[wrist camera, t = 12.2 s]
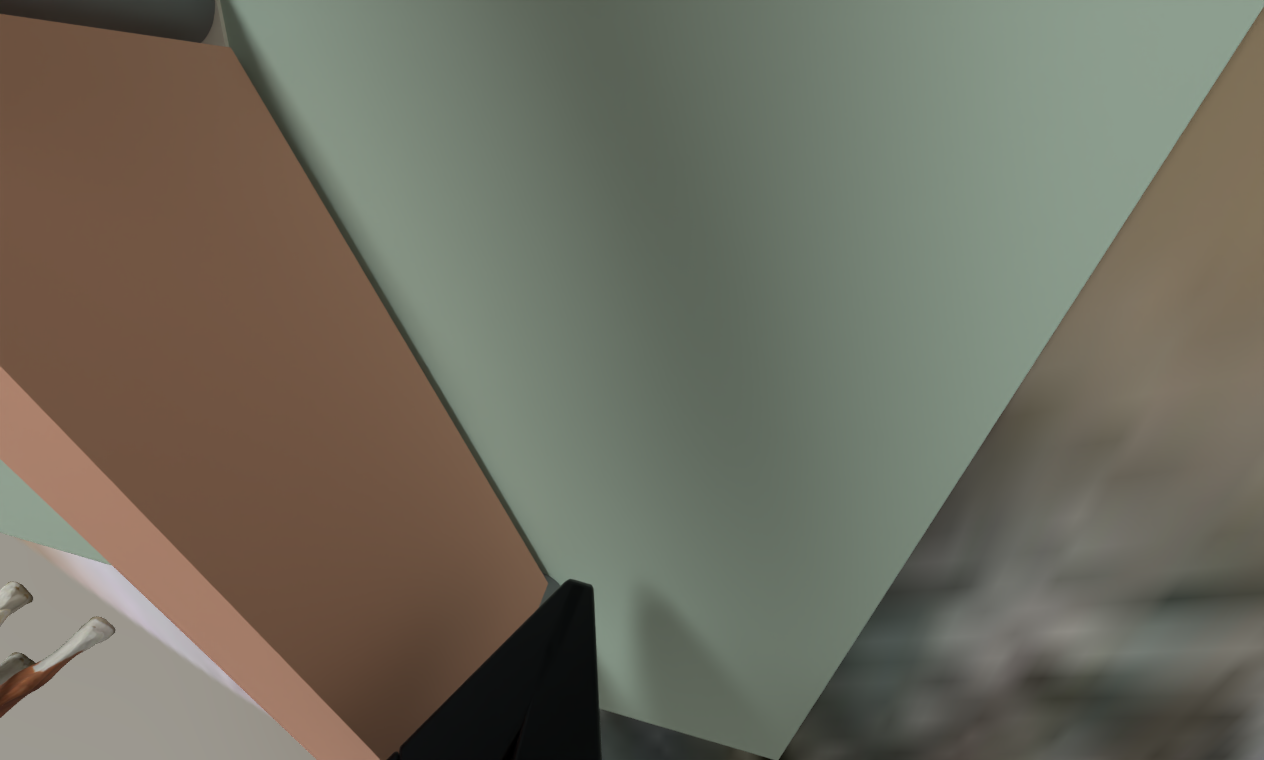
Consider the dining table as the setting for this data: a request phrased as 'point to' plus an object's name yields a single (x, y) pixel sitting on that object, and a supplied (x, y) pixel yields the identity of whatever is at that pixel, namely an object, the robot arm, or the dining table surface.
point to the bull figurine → (24, 676)
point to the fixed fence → (124, 15)
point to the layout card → (722, 278)
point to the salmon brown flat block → (234, 393)
